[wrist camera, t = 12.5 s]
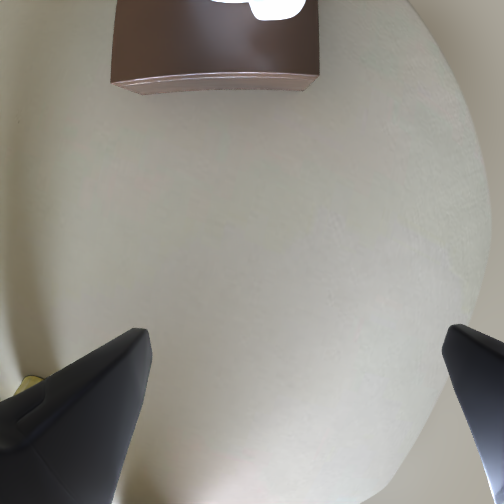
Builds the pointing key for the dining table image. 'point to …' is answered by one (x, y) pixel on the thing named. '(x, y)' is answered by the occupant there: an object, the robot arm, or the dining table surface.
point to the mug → (271, 8)
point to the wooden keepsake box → (211, 47)
